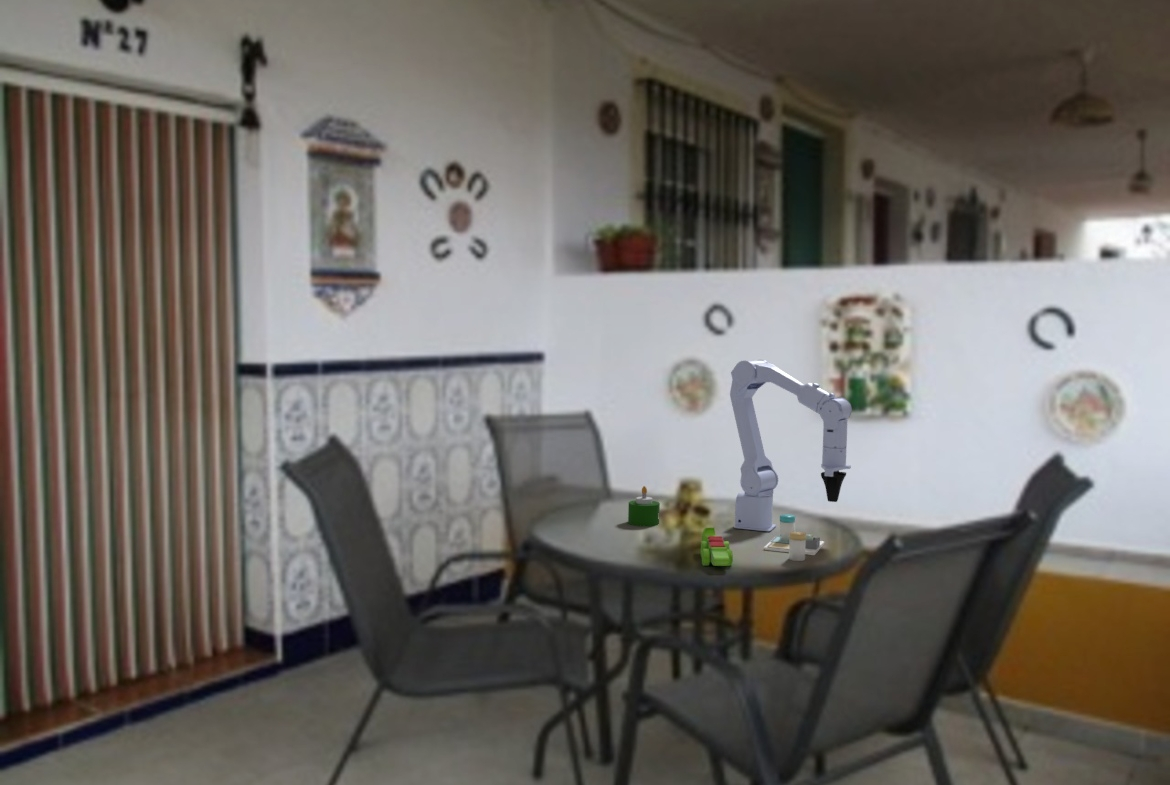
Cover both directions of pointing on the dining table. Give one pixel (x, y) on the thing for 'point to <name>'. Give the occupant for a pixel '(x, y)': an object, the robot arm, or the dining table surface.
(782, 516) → the jar with teal lid
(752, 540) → the dining table surface
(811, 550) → the picture board
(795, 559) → the jar with tan lid
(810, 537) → the button
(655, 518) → the candle
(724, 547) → the toy crocodile
